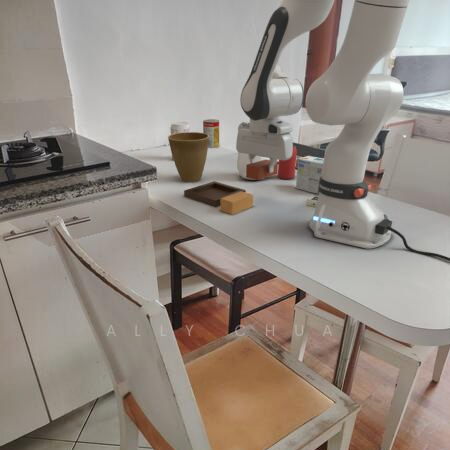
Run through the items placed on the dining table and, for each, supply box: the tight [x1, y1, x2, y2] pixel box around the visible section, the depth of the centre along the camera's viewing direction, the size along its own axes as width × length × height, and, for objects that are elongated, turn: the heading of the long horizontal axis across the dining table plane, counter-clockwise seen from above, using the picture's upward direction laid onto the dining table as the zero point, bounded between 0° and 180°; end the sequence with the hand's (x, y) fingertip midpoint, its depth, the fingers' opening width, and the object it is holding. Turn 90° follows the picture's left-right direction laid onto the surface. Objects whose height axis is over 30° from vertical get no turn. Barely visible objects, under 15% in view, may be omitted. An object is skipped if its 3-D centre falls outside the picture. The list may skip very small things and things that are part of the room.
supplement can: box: [169, 121, 191, 159], centre depth 181 cm, size 8×8×15 cm
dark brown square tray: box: [183, 180, 247, 208], centre depth 141 cm, size 15×15×2 cm
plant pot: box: [167, 131, 209, 183], centre depth 154 cm, size 15×15×16 cm
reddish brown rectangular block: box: [246, 159, 279, 181], centre depth 133 cm, size 5×10×4 cm, turn 137°
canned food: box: [202, 118, 220, 149], centre depth 204 cm, size 8×8×12 cm
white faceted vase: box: [236, 151, 270, 181], centre depth 157 cm, size 13×13×14 cm
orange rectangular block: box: [220, 191, 254, 215], centre depth 130 cm, size 5×10×4 cm, turn 137°
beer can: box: [277, 144, 298, 180], centre depth 158 cm, size 7×7×12 cm
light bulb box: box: [295, 155, 324, 195], centre depth 145 cm, size 11×7×11 cm, turn 47°
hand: (262, 170), depth 133 cm, fingers closed on reddish brown rectangular block, 5 cm apart
